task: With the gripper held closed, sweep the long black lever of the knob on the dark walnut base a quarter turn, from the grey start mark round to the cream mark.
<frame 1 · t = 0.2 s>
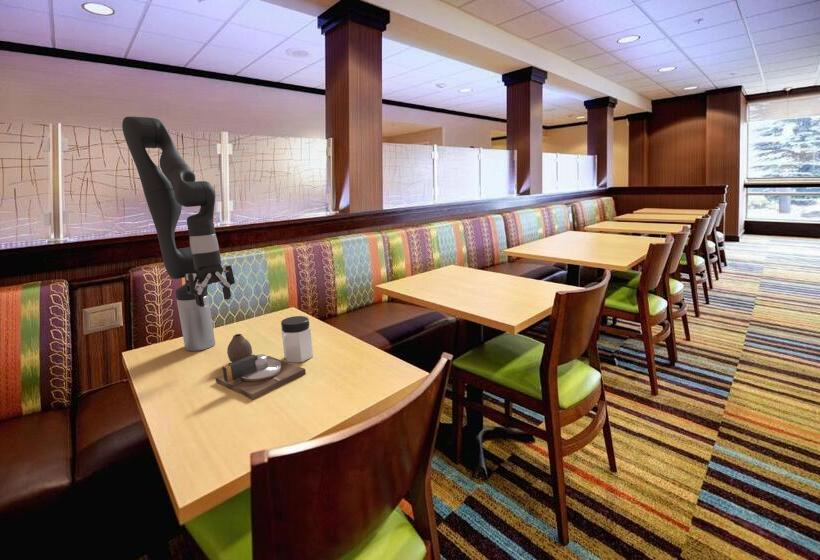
hand: (214, 302, 130), 17 cm above the table, tool pointing down, fingers open, 8 cm apart
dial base: (261, 378, 118), on the table
knob: (252, 366, 115), point 4 cm above the table, hinge at 0.0°
vase: (241, 363, 129), on the table
jar: (298, 357, 131), on the table
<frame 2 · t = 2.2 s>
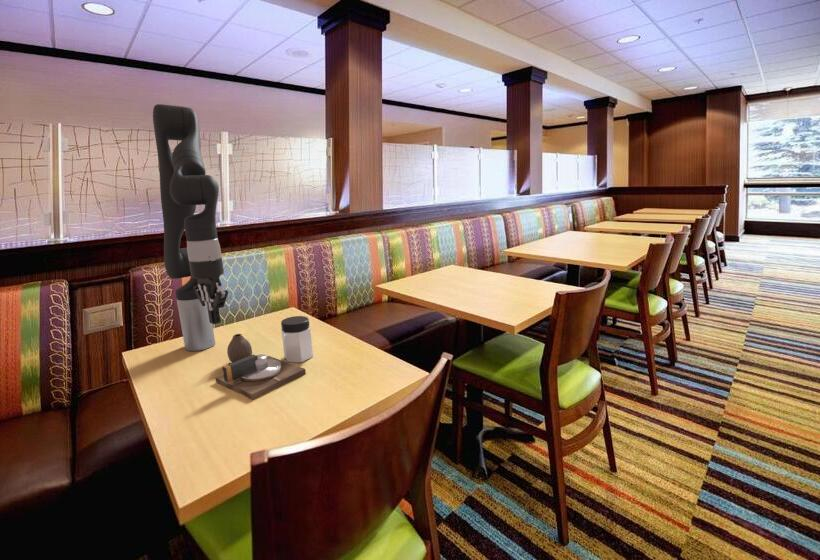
hand: (215, 322, 111), 18 cm above the table, tool pointing down, fingers closed
nothing on the table moved.
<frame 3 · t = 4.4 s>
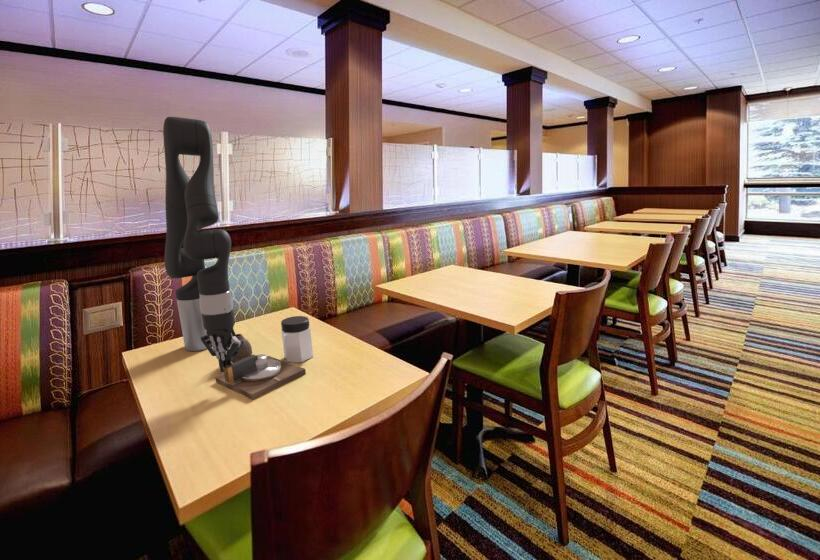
hand: (226, 371, 112), 5 cm above the table, tool pointing down, fingers closed
knob: (252, 366, 115), point 4 cm above the table, hinge at 2.8°, touching gripper
everything else where it was.
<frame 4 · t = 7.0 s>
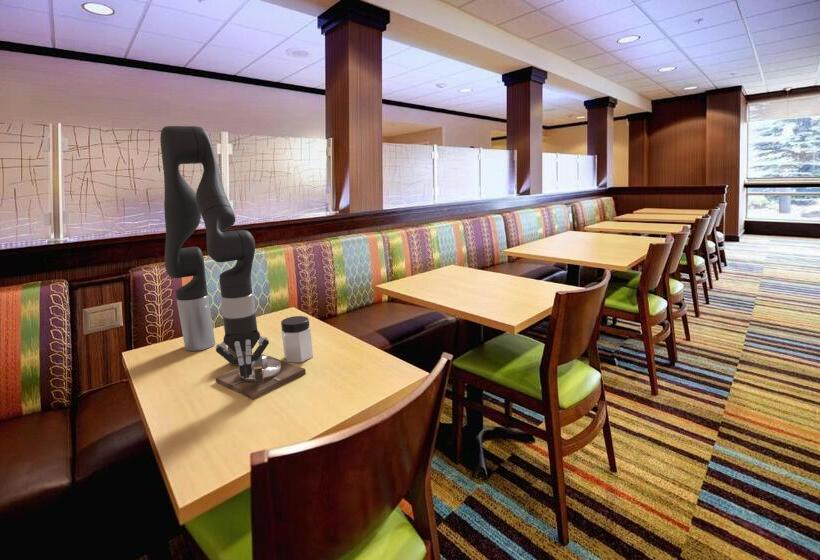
hand: (246, 376, 109), 5 cm above the table, tool pointing down, fingers closed
knob: (259, 366, 115), point 4 cm above the table, hinge at 55.1°, touching gripper
everything else where it was.
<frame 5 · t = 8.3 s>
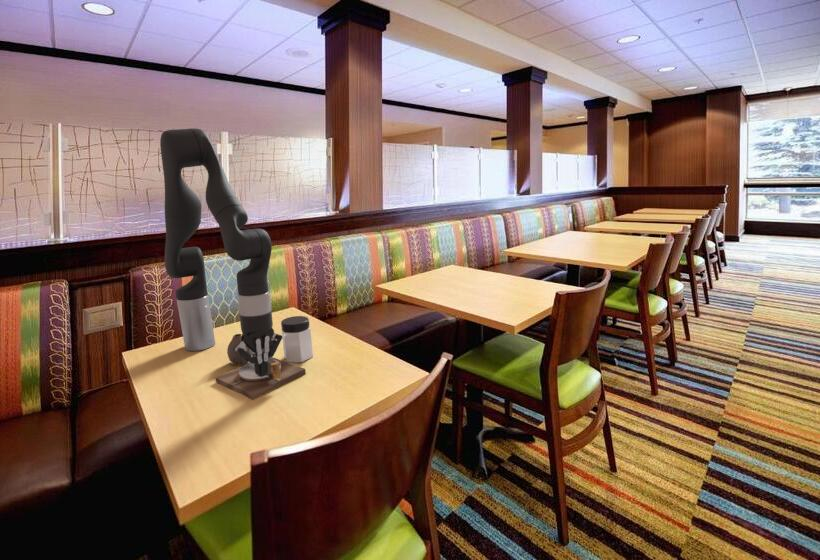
hand: (262, 375, 109), 5 cm above the table, tool pointing down, fingers closed
knob: (263, 365, 116), point 4 cm above the table, hinge at 81.1°, touching gripper
everything else where it was.
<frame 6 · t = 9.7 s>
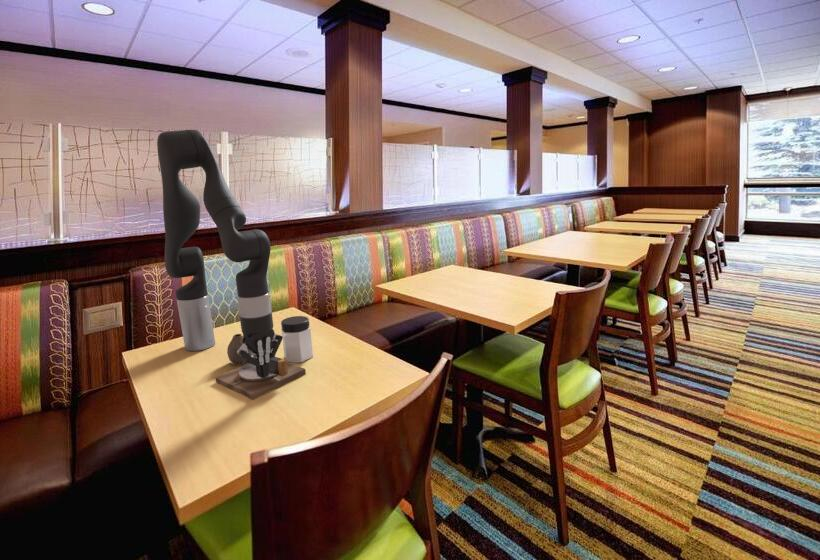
hand: (263, 376, 109), 5 cm above the table, tool pointing down, fingers closed
knob: (265, 364, 116), point 4 cm above the table, hinge at 94.6°
everything else where it was.
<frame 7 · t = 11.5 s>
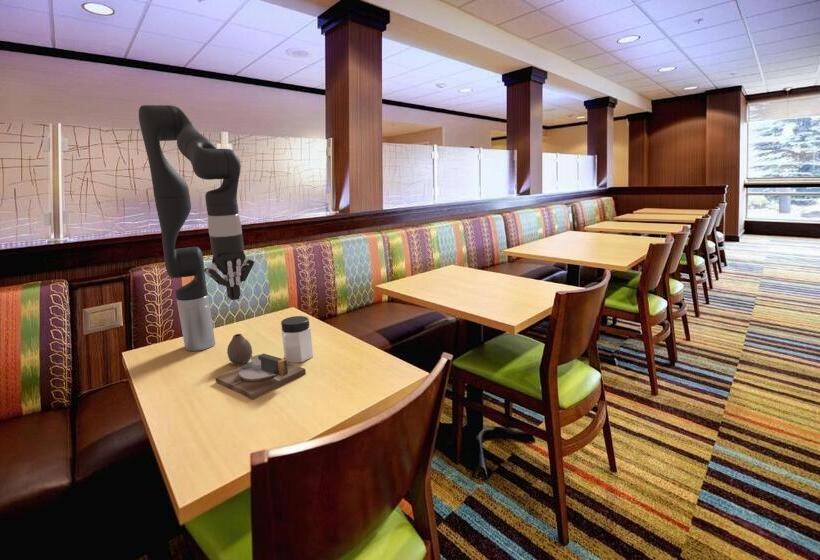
hand: (234, 299, 110), 24 cm above the table, tool pointing down, fingers closed
nothing on the table moved.
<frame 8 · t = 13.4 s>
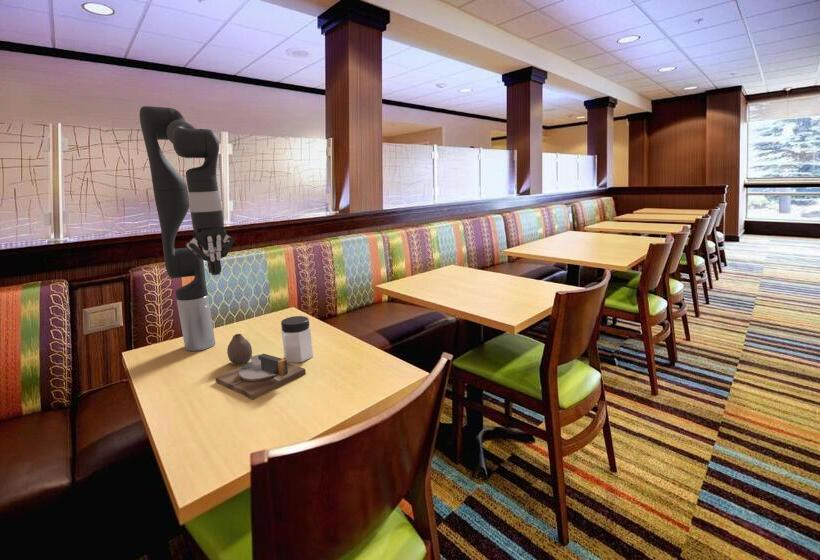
hand: (215, 274, 115), 29 cm above the table, tool pointing down, fingers closed
nothing on the table moved.
at the end: knob at +95° (first picture: +0°); jar moved 0.2 cm from its start; vase moved 0.2 cm from its start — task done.
